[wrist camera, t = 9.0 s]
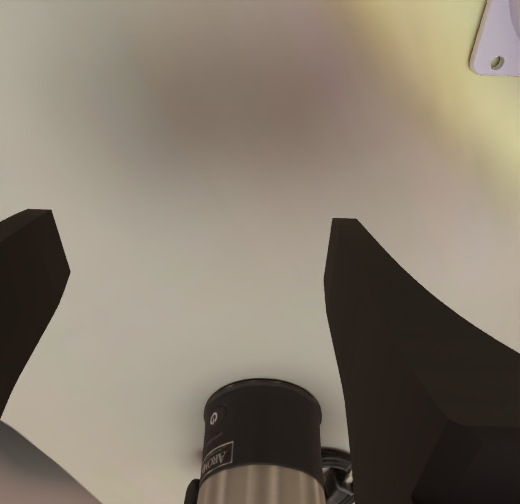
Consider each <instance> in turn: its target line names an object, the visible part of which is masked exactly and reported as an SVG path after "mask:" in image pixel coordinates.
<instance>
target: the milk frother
mask: <svg viewBox="0 0 520 504" xmlns="http://www.w3.org/2000/svg"><path fill="white" fill-rule="evenodd" d="M204 420H205V436H204V448H203V459H202V468H201V477H200V479H193V480H192V481H191V483H190V484H189V486H188V488H187V491H186V496H185V501H184V504H353V503H354V502H355V501H354V488H353V477H352V466H351V458H350V457H348V456H346V455H343V454H340V453H337V452H331V451H322V452H321V443H320V424H321V421H322V413H321V409H320V406H319V404H318V403H317V401H316V400H315V399H314V398H313V397H312V396H311V395H310V394H309V393H307V392H306V391H305V390H303V389H301V388H299V387H297V386H295V385H292V384H289V383H285V382H281V381H272V380H249V381H242V382H238V383H234V384H232V385H229V386H227V387H225V388H223V389H222V390H220V391H218V392H217V393H215V394H214V395H213V396H212V397H211V398H210V400H209V401H208V402H207V405H206V407H205V410H204ZM325 467H331V473H330V474H329V476H328V477H327V479H326V482H325V484H324V482H323V471H322V468H325Z"/></svg>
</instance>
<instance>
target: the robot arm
mask: <svg viewBox="0 0 520 504" xmlns="http://www.w3.org/2000/svg"><path fill="white" fill-rule="evenodd" d="M498 56H500V62H499V64H498V65H497V66H495V67H492V68H491V62H492V60H493V59H494V58H496V57H498ZM469 66H470V69H471V70H472V71H473V72H474V73H476V74H478V75H489V76H520V0H488V1H487V4H486V7H485V11H484V14H483V18H482V21H481V24H480V28H479V31H478V35H477V38H476V41H475V45H474V48H473V52H472V55H471V58H470V64H469ZM69 275H70V269H69V265H68V262H67V259H66V256H65V252H64V249H63V246H62V243H61V239H60V236H59V233H58V230H57V226H56V223H55V220H54V217H53V214H52V210H42V209H27V210H24V211H22V212H19V213H17V214H15V215H13V216H11V217H9V218H7V219H5V220H3V221H1V222H0V418H1V416H2V413H3V411H4V409H5V406H6V404H7V401H8V399H9V397H10V394H11V392H12V390H13V388H14V386H15V384H16V382H17V380H18V378H19V376H20V374H21V372H22V371H23V369H24V367H25V365H26V363H27V362H28V360H29V358H30V356H31V354H32V353H33V351H34V349H35V347H36V345H37V344H38V342H39V340H40V338H41V336H42V335H43V333H44V331H45V329H46V327H47V326H48V324H49V322H50V320H51V318H52V316H53V315H54V313H55V311H56V309H57V307H58V305H59V303H60V300H61V297H62V295H63V292H64V290H65V287H66V284H67V281H68V278H69ZM324 291H325V303H326V313H327V318H328V323H329V328H330V332H331V337H332V342H333V346H334V351H335V355H336V360H337V365H338V369H339V374H340V378H341V383H342V388H343V394H344V400H345V408H346V417H347V426H348V435H349V445H350V456H351V466H352V477H353V488H354V501H355V504H520V353H518V352H516V351H514V350H513V349H511V348H509V347H508V346H506V345H504V344H502V343H501V342H499V341H498V340H496V339H494V338H493V337H491V336H490V335H488V334H487V333H485V332H483V331H482V330H480V329H479V328H477V327H476V326H474V325H473V324H471V323H470V322H468V321H467V320H465V319H464V318H462V317H461V316H460V315H458V314H457V313H456V312H454V311H453V310H452V309H450V308H449V307H448V306H446V305H445V304H444V303H442V302H441V301H440V300H438V299H437V298H436V297H435V296H433V295H432V294H431V293H430V292H429V291H427V290H426V289H425V288H424V287H423V286H422V285H421V284H419V283H418V282H417V281H416V280H415V279H414V278H413V277H412V276H411V275H409V274H408V273H407V272H406V271H405V270H404V269H403V268H402V267H401V266H400V265H399V264H398V263H397V262H396V261H395V260H394V259H393V258H392V257H391V256H390V255H389V254H388V253H387V252H386V251H385V250H384V249H383V247H382V246H381V245H380V244H379V243H378V242H377V241H376V240H375V239H374V238H373V236H372V235H371V234H370V233H369V232H368V231H367V230H366V229H365V228H364V226H363V225H362V224H361V223H360V222H359V221H358V220H357V219H348V218H333V219H332V226H331V232H330V239H329V246H328V253H327V260H326V267H325V274H324Z"/></svg>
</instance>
